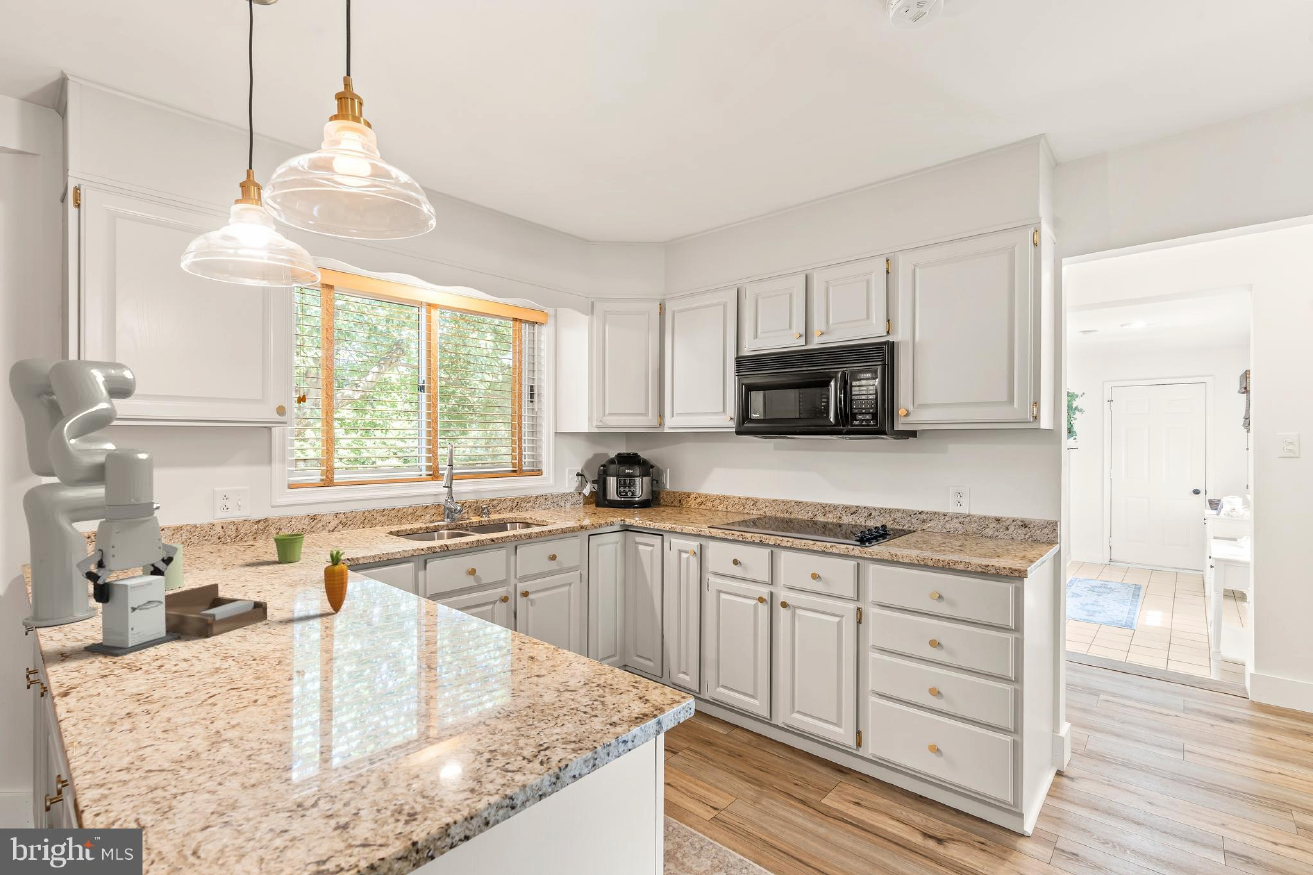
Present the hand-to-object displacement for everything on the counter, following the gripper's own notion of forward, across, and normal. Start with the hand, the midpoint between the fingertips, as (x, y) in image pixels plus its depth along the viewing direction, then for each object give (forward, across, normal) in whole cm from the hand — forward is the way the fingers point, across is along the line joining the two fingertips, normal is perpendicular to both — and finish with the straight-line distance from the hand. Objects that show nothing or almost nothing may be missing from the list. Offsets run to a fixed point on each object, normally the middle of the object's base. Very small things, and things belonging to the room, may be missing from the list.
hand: (130, 595), depth 126 cm
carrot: (+9, -29, +23) cm, 38 cm away
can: (+12, -32, -44) cm, 56 cm away
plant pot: (+12, -69, -42) cm, 82 cm away
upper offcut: (+7, -14, +8) cm, 18 cm away
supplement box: (+9, 0, +2) cm, 9 cm away
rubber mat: (+10, 0, +1) cm, 10 cm away
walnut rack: (+10, -14, +4) cm, 17 cm away
